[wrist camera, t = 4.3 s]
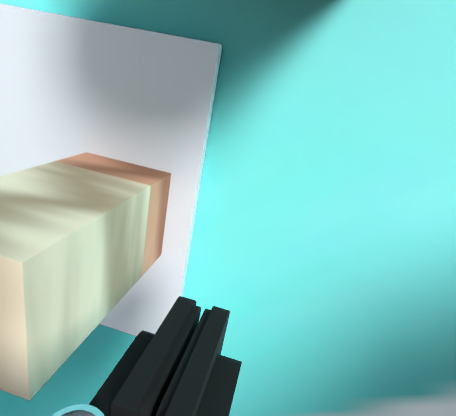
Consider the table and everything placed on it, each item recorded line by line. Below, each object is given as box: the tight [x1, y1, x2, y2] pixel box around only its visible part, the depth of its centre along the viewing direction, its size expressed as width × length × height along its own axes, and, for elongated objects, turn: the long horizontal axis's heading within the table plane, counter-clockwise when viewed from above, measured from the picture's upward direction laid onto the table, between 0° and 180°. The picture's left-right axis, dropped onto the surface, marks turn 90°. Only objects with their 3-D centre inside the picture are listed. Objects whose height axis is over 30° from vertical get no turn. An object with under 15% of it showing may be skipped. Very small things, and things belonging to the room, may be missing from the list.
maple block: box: [0, 152, 171, 401], centre depth 14 cm, size 5×5×10 cm
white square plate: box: [0, 4, 222, 336], centre depth 20 cm, size 17×18×1 cm
